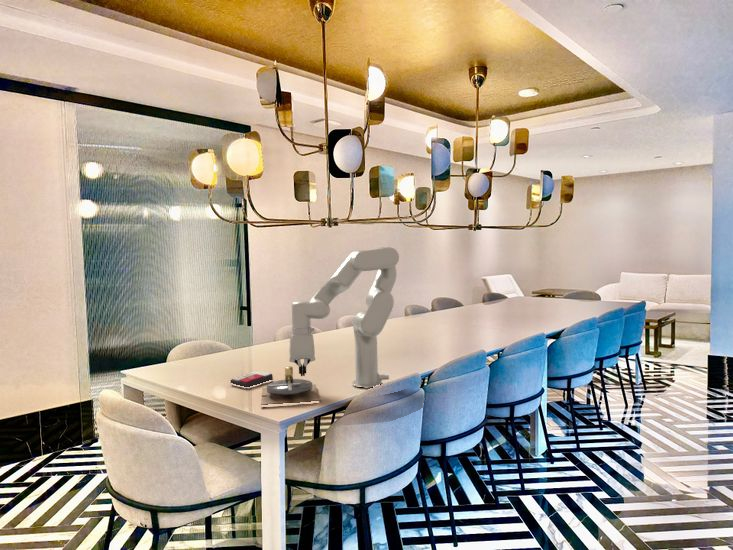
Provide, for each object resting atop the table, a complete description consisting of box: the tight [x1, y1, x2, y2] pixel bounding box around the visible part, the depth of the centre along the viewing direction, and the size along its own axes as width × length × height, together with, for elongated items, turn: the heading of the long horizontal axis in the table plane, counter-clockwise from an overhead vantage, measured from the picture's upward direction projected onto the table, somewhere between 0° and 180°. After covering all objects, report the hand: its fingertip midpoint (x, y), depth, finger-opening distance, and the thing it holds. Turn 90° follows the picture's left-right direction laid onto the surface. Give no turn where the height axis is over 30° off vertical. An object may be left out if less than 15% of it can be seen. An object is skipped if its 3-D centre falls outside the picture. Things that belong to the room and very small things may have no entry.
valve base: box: [260, 383, 321, 406], centre depth 202 cm, size 22×22×2 cm
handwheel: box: [266, 366, 313, 396], centre depth 202 cm, size 18×18×9 cm
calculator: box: [230, 370, 274, 387], centre depth 224 cm, size 11×4×15 cm
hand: (302, 375), depth 210 cm, fingers closed
